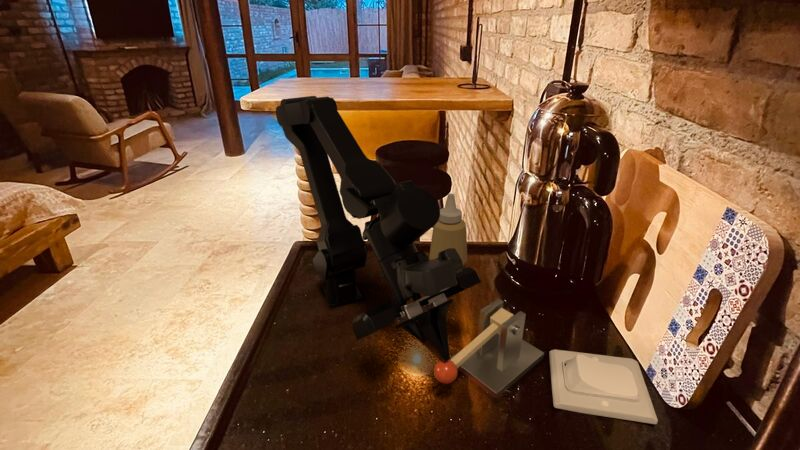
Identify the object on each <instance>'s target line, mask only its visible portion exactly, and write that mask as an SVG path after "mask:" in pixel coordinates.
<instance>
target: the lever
mask: <svg viewBox="0 0 800 450" xmlns="http://www.w3.org/2000/svg"><path fill="white" fill-rule="evenodd" d="M512 316H514V313H512V312H510V311H508V310H507V309H505V308H504V307H503V308H501V309H499V310H498V311H497V312H496V313H495V314H494V315H492V316H491V317H490V326H489V327H488V328H486V329H485V330H484V331H483V332H482V333H481V334H480V335H478V334H477V336H476V337H475V338H473V340H471V341H470V342H469V343H468V344H467V345H465V346H464V347H463V348H462V349H461V350H459V351H458V352H459V353H458V352H457V353H458V354H457V353H456V354H457V355H456V356H454V355H453V356H454V357H453V358H452V359H451V360H450V359H449V360H448V361H446V362H441V361H440V360H439V359H438V361H437V362H436V363H435V365H434V368H433V374H434V377H435V379H436V380H437V381H438V382H439V383H441V384H443V385H449V384H452V383H453V382H454V381H455V380H456V379H457V377H458V372H459V370H458V369H457V368H458V367H459V366H460V365H461V364H462V363H464V362H465V361H466V360H467V359H468V358H469V357H470V356H471V355H473V354H474V353H475V352H476V351H477V350H478V349H479V348H480V347H481V346H483V345H484V344H485V343H486V342H487V341H488V340H489V339H490V338H491V337H493V336H494V335H495V334H496V333H498V334H499V335H501V328H502V323H504V322H505V321H507V320H508V319H510V318H511V317H512Z"/></svg>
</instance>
